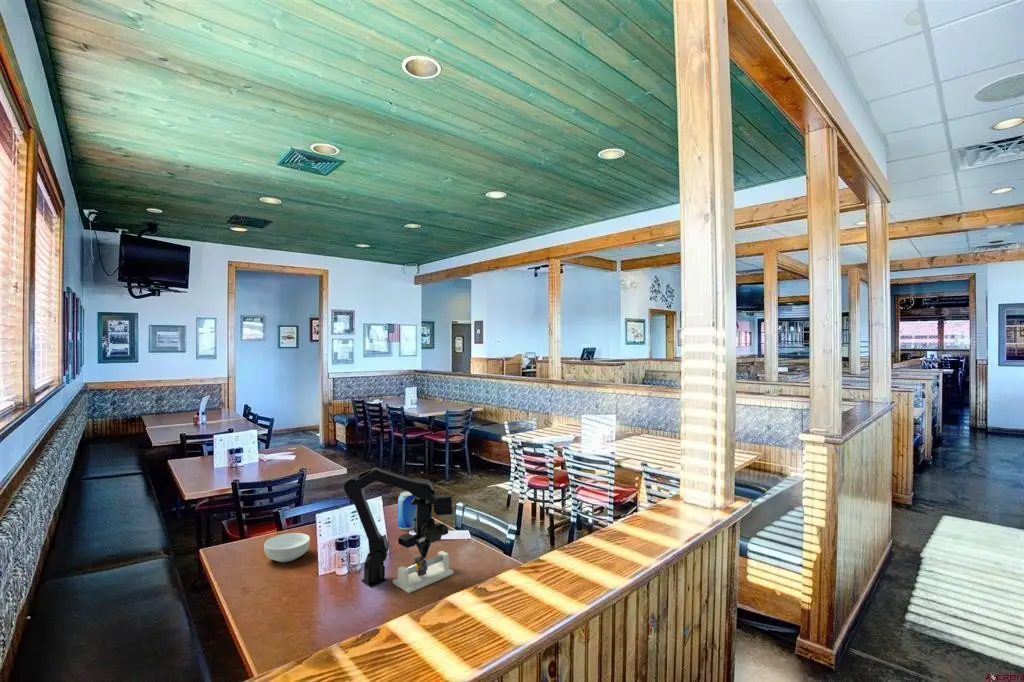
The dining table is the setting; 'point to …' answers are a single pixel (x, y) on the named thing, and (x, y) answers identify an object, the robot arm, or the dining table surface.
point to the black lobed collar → (422, 563)
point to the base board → (432, 574)
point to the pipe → (428, 562)
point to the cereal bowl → (286, 546)
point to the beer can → (406, 511)
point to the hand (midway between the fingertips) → (423, 558)
